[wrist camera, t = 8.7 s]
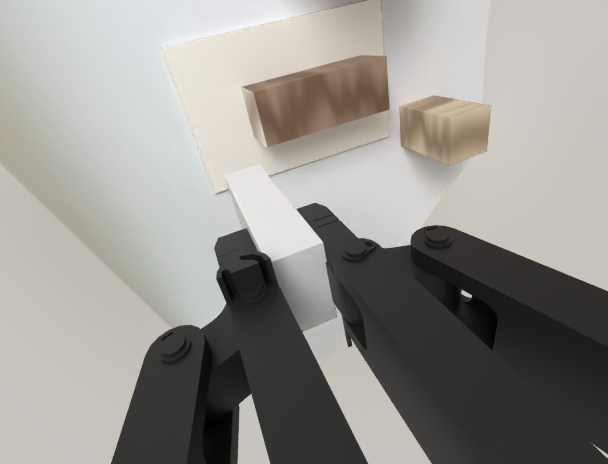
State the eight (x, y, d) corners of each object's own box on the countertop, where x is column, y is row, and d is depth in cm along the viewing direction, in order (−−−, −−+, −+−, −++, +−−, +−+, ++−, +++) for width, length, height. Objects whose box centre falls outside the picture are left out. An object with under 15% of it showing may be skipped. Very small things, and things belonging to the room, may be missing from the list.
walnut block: (252, 92, 27) (386, 56, 29) (240, 87, 31) (360, 55, 33) (266, 147, 29) (389, 109, 32) (254, 136, 33) (364, 103, 35)
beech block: (399, 106, 37) (450, 118, 31) (433, 95, 38) (491, 105, 32) (401, 145, 40) (449, 165, 33) (433, 134, 41) (486, 151, 34)
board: (161, 47, 28) (161, 47, 27) (378, -2, 32) (380, -3, 31) (214, 192, 34) (214, 193, 34) (387, 135, 39) (389, 136, 38)
